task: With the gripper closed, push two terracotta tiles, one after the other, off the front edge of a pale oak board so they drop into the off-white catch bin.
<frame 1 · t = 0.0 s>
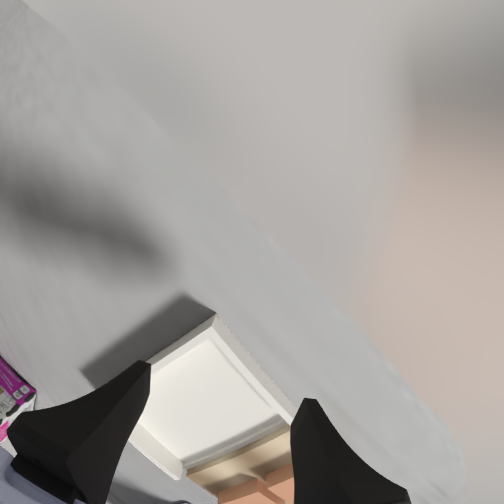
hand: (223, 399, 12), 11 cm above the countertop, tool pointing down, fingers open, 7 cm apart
terracotta tile 1: (252, 495, 23), point 2 cm above the countertop, touching oak board
oak board: (269, 469, 24), on the countertop
catch bin: (196, 405, 23), on the countertop
terracotta tile 2: (300, 475, 22), point 2 cm above the countertop, touching oak board
candy bar box: (7, 373, 24), on the countertop
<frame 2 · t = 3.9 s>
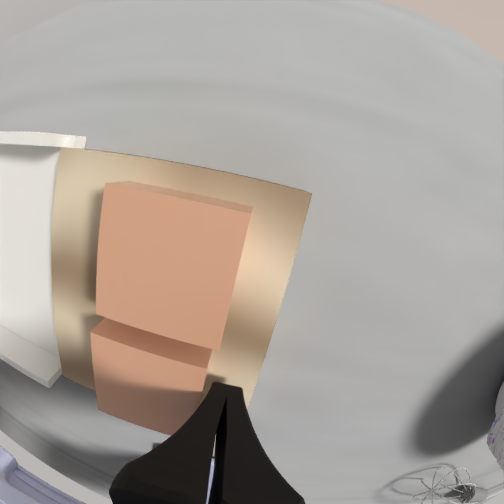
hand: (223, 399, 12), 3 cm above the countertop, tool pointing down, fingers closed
kitchen whisk: (462, 480, 21), on the countertop
terracotta tile 1: (156, 368, 13), point 2 cm above the countertop, touching gripper, oak board
oak board: (160, 295, 14), on the countertop
catch bin: (8, 245, 14), on the countertop
terracotta tile 2: (176, 254, 11), point 2 cm above the countertop, touching oak board
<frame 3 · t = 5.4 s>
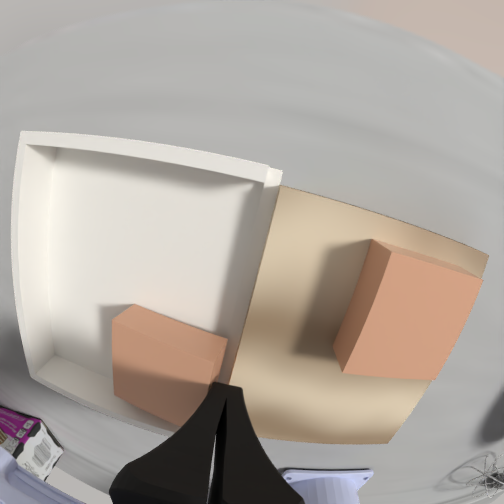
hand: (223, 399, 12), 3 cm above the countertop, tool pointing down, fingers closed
kitchen whisk: (495, 469, 21), on the countertop
terracotta tile 1: (173, 361, 14), point 1 cm above the countertop, tilted 10°, touching gripper
oak board: (347, 337, 14), on the countertop
catch bin: (130, 286, 14), on the countertop
terracotta tile 2: (400, 306, 12), point 2 cm above the countertop, touching oak board
candy bar box: (23, 423, 19), on the countertop
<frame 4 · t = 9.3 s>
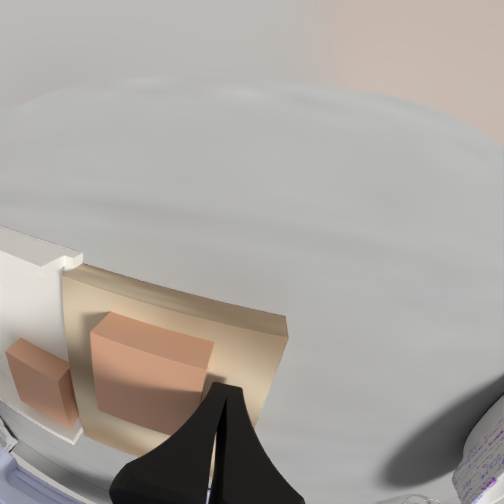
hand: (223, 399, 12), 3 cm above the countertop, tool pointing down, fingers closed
white purple patterned bowl: (499, 415, 17), on the countertop
kitchen whisk: (437, 503, 23), on the countertop
terracotta tile 1: (50, 376, 16), resting on catch bin
oak board: (164, 385, 16), on the countertop
catch bin: (22, 326, 15), on the countertop
terracotta tile 2: (156, 368, 13), point 2 cm above the countertop
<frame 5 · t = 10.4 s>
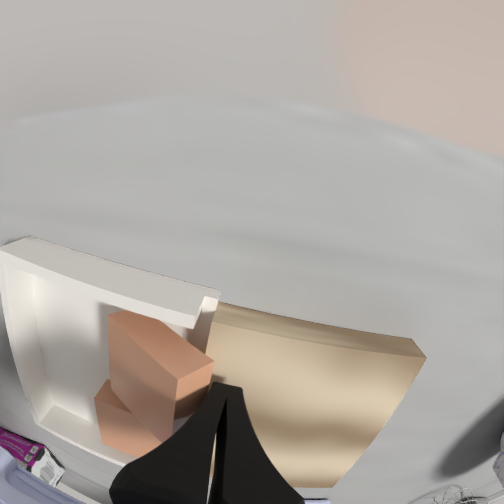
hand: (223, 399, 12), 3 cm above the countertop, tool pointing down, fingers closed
kitchen whisk: (466, 493, 23), on the countertop
terracotta tile 1: (143, 416, 16), resting on catch bin
oak board: (288, 412, 16), on the countertop
catch bin: (107, 366, 15), on the countertop
terracotta tile 2: (169, 371, 13), point 2 cm above the countertop, tilted 33°, touching catch bin, gripper
candy bar box: (29, 445, 21), on the countertop
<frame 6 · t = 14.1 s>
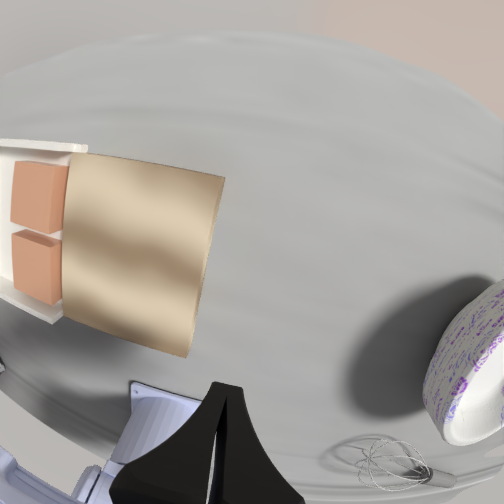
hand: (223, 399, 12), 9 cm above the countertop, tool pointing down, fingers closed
white purple patterned bowl: (470, 339, 22), on the countertop
kitchen whisk: (421, 461, 28), on the countertop
terracotta tile 1: (43, 262, 20), resting on catch bin
oak board: (134, 251, 20), on the countertop
catch bin: (28, 220, 20), on the countertop
terracotta tile 2: (45, 193, 19), resting on catch bin
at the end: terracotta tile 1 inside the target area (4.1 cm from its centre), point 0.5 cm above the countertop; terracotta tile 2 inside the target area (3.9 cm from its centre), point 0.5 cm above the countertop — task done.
